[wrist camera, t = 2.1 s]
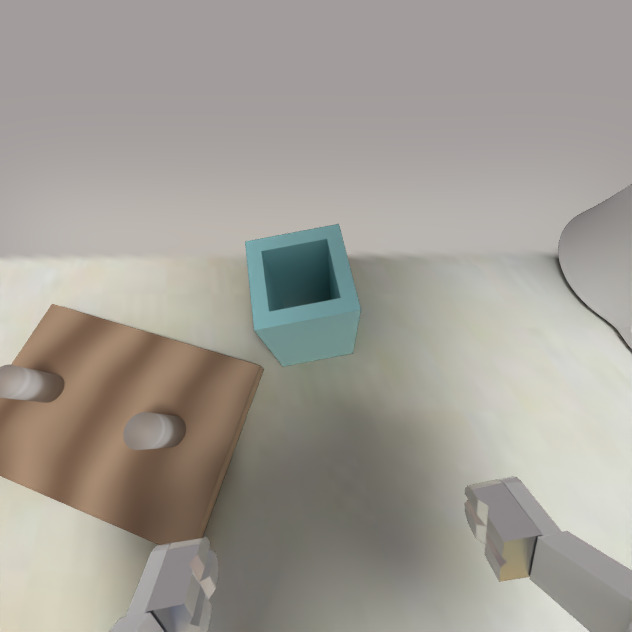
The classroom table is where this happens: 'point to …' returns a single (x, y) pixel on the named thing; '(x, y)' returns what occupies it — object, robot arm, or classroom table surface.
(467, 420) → the classroom table surface
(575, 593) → the robot arm
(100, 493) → the pin plate
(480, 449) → the classroom table surface
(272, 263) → the sleeve block
